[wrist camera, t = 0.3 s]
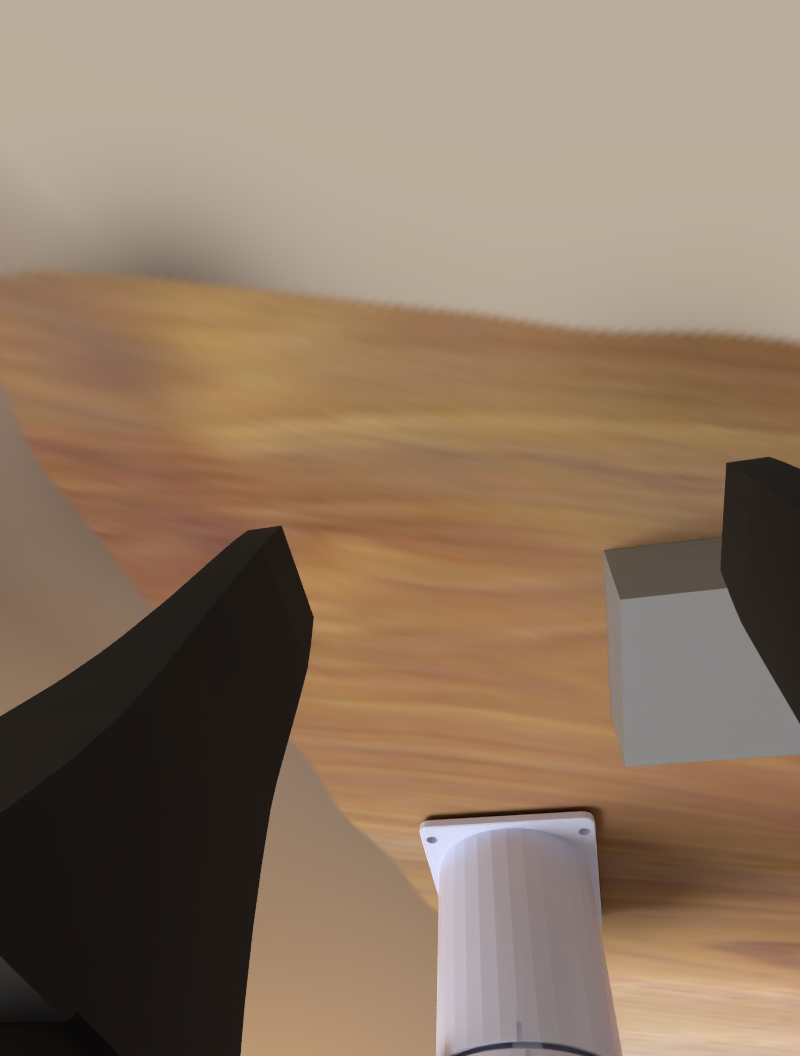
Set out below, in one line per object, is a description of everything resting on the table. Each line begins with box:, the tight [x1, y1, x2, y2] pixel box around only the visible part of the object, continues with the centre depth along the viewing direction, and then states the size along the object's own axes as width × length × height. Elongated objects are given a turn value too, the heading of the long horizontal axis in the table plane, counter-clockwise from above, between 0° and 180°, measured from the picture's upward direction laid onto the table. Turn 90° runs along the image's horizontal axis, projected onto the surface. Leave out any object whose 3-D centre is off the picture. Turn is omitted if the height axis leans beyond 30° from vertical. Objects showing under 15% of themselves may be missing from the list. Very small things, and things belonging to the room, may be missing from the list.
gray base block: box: [604, 537, 800, 767], centre depth 23 cm, size 8×8×3 cm
